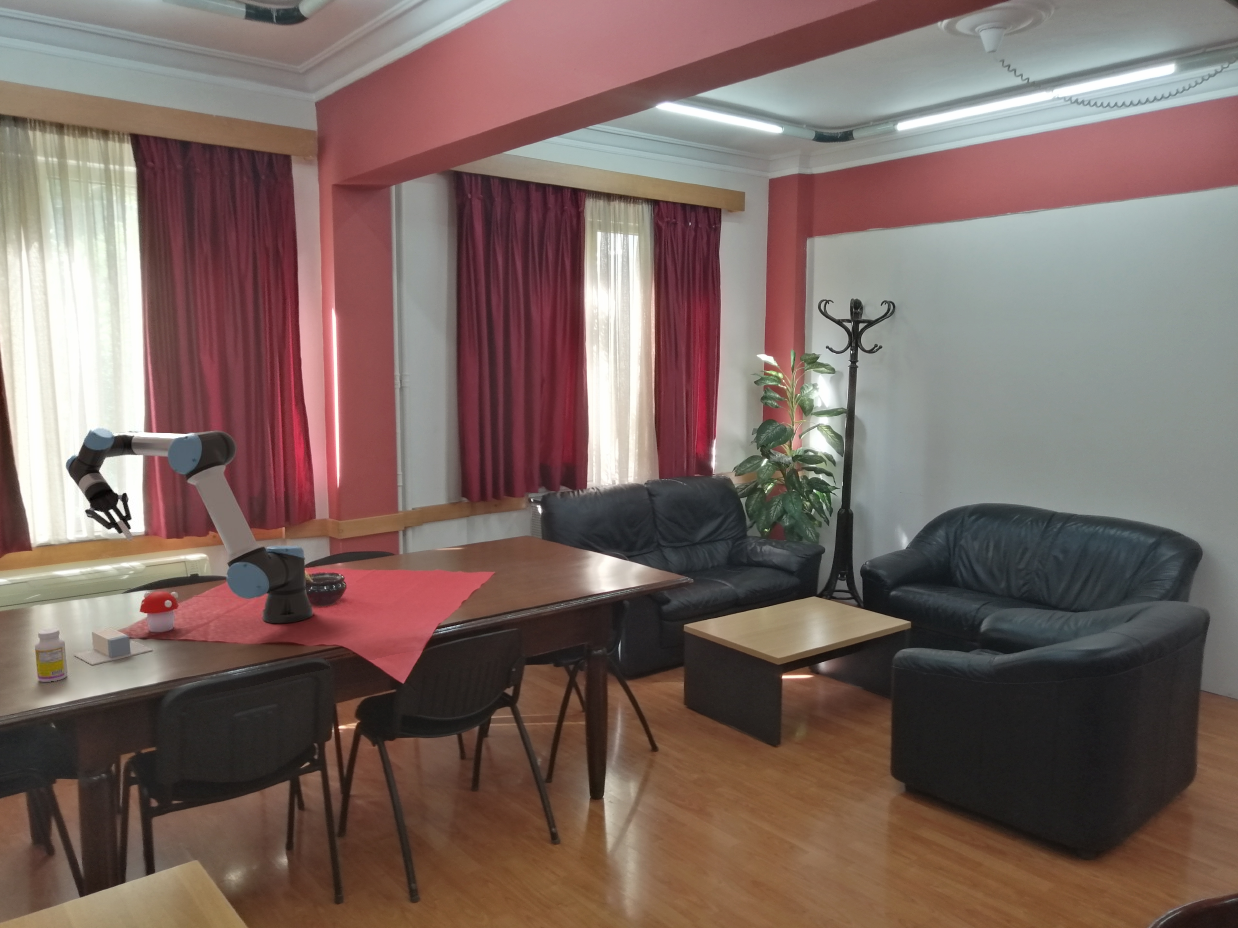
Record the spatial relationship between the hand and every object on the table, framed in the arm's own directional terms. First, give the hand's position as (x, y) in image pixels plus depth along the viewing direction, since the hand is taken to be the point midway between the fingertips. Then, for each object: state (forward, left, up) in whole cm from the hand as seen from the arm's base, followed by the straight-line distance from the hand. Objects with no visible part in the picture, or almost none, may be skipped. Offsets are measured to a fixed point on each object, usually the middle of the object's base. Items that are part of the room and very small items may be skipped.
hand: (129, 536), depth 283 cm
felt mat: (-16, +19, -29) cm, 38 cm away
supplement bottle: (-20, +40, -29) cm, 53 cm away
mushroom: (-8, -2, -29) cm, 30 cm away
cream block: (-9, +17, -26) cm, 32 cm away
